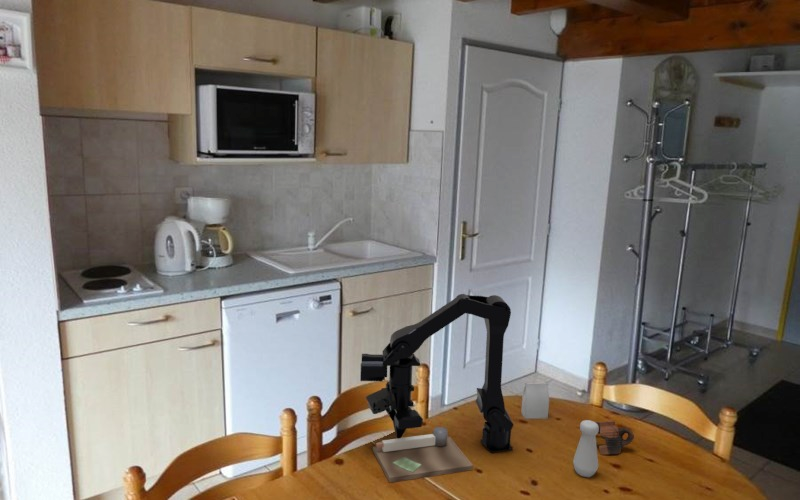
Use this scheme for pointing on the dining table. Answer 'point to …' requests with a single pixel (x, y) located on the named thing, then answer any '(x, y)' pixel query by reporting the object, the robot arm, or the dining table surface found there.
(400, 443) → the lever
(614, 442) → the pottery mug
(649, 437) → the dining table surface
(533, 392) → the grey block
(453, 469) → the board
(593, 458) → the salt shaker
